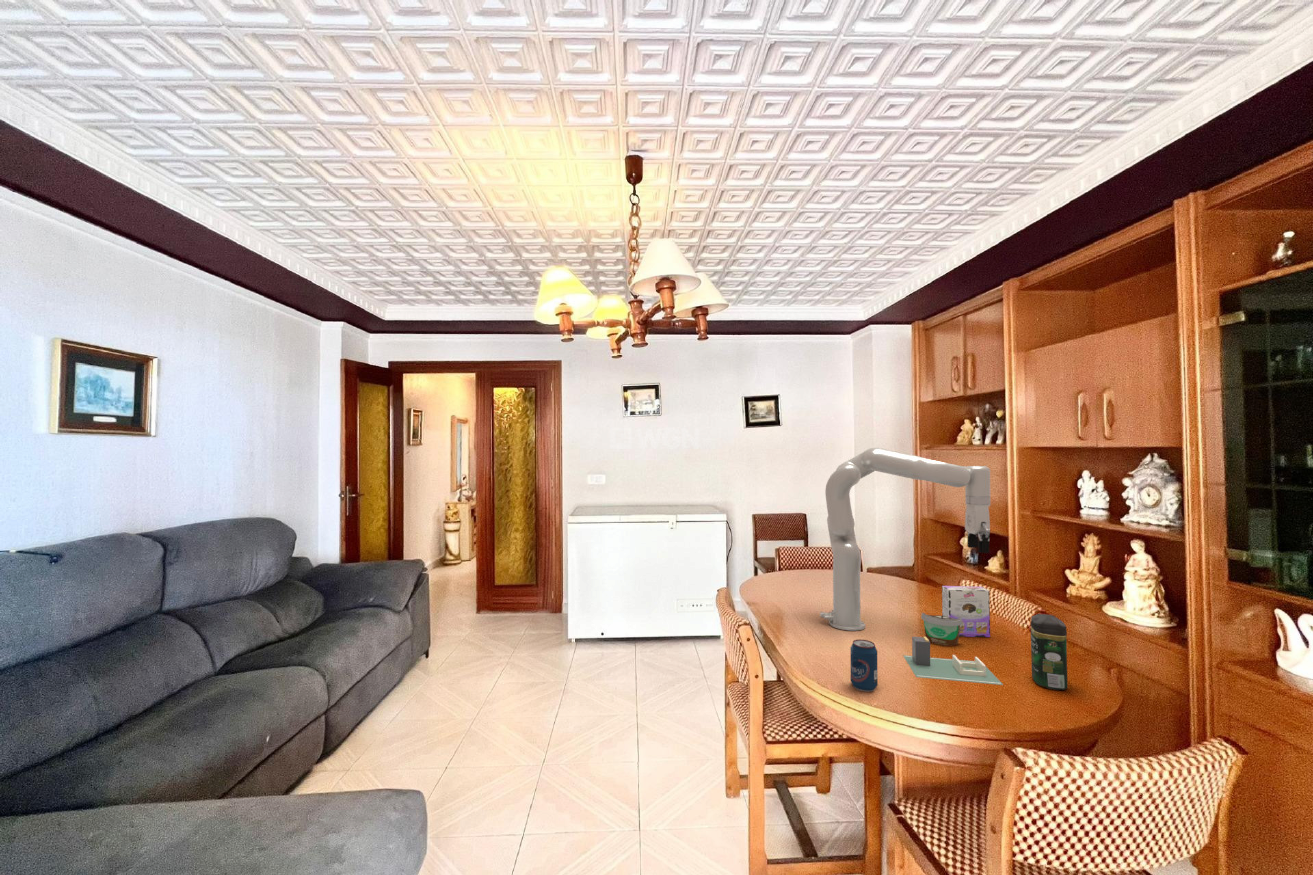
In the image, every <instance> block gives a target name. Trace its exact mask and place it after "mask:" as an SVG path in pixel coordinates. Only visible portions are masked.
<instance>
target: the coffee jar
mask: <svg viewBox="0 0 1313 875" xmlns="http://www.w3.org/2000/svg"><path fill="white" fill-rule="evenodd" d="M1030 618H1031V619H1030V649H1031V650H1030V652H1031V655H1030V656H1031V657H1030V658H1031V677H1032V679H1033V681H1034V682H1035V684H1037V685H1038V686H1041V687H1044V688H1046V689H1049V690H1054V691H1055V690H1056V691H1057V690H1067V689H1068V685H1069V684H1068V680H1069V678H1068V652H1067V651H1068V650H1067V645H1068V644H1067V643H1068V642H1067V641H1068V640H1067V638H1068V635H1067V634H1068V633H1067V625H1066V624H1065V623H1064V622H1063V621H1062V620H1061V619H1059V618H1058V617H1056V616H1055V615H1052V614H1046V613H1037V614H1035V615H1033V616H1031V617H1030Z"/></svg>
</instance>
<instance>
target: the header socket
mask: <svg viewBox="0 0 1313 875" xmlns="http://www.w3.org/2000/svg"><path fill="white" fill-rule="evenodd" d="M952 659H953V666H954V667H955V669H956V670H957V671H958V672H959V674H961V675H973V676H984V677H986V667H987V666H986V664H985V663H984V662H983V661H981V660H980V658H979V657H977V656H974V661H975V663H970V662H960V661H959V660H960V659H959V658H958V657H957V656H956V654H952ZM962 667H972V668H976V669H977V670H978V671H973V670H972V669H970V670H966V669H965V668H963V669H964V670H962Z"/></svg>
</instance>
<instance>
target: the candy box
mask: <svg viewBox="0 0 1313 875" xmlns="http://www.w3.org/2000/svg"><path fill="white" fill-rule="evenodd" d="M941 592H942V593H941V602H942V604H941V605H942V606H941V609H942V610H941V611H942V612H941V613H942V615H941V616H945V617H949V618H955V619H958V618H960V617H961V619H962V622H963V624H962V625H960V630H959V637H965V638H967V637H968V638H970V637H971V638H977V637H978V638H990V637H991V609H990V608H991V607H990V606H991V604H990V590H989V589H987V588H984V587H983V586H968V585H967V586H964V585H963V586H962V585H958V586H957V585H942V586H941Z"/></svg>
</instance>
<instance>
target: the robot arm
mask: <svg viewBox="0 0 1313 875" xmlns="http://www.w3.org/2000/svg"><path fill="white" fill-rule="evenodd" d="M874 472H880V473H884V474H888V475H892V476H898V477H903V478H907V479H912V480H916V481H926V482H930V483H935V484H940V485H944V486H945V485H946V486H950V487H954V488H963V487H964V488H965V489H964V491H965V492H964V493H965V496H964V497H965V498H964V499H965V501H964V502H965V505H966V507H965V516H964V530H965V531H966V532H967V533H966V534H967V547H968V548H974V549H975V548H976V549H978V550H977V551H978V553H980V554H989V553H990V537H991V536H990V534H991V527H990V526H991V522H990V520H991V519H990V511H989V510H990V508H989V507H991V469H990V468H989V466H986V465H985V466H983V465H969V466H965V465H957V464H952V463H947V462H945V461H944V462H942V461H938V460H933V459H929V458H925V457H923V456H919V455H915V454H910V453H905V452H900V451H894V450H889V449H884V448H879V447H871V448H869V449H867V450H864V451H863V452H862V453H859V454H857V455H855V456H854V457H851V458H850V459H848V460H847V461H844V462H843V463H841V464H839V465H838V466H837V468H836V470H835V471H833V473H832V474H831V475H830V477H828V479H827V482H826V484H825V490H824V491H825V494H824V495H825V501H826V502H825V503H826V509H827V517H826V518H827V519H826V523H827V530H828V534H829V536H828V537H829V542H830V548H831V551H832V560H833V561H832V592H833V593H832V594H833V595H832V601H833V602H832V608H833V609H831V611H829V612H826V611H820V612H819V613H820V618H824V620H828V625H830V627H833V628H834V629H835V628H836V629H838V630H843V631H848V632H849V631H851V632H852V631H853V632H854V631H855V632H856V631H862V630H864V629H866V624H865V622H863V621H862V619H861V567H862V566H861V564H862V555H861V554H862V552H861V549H860V547H859V545H858V543H857V540H856V534H855V519H854V516H853V511H852V506H851V498H850V494H851V493H850V492H851V489H852V487H854V486H855V485H857V484H858V483H859V481H860V480H861V479H863V478H865V477H867V476H868V475H871V474H873V473H874Z"/></svg>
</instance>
